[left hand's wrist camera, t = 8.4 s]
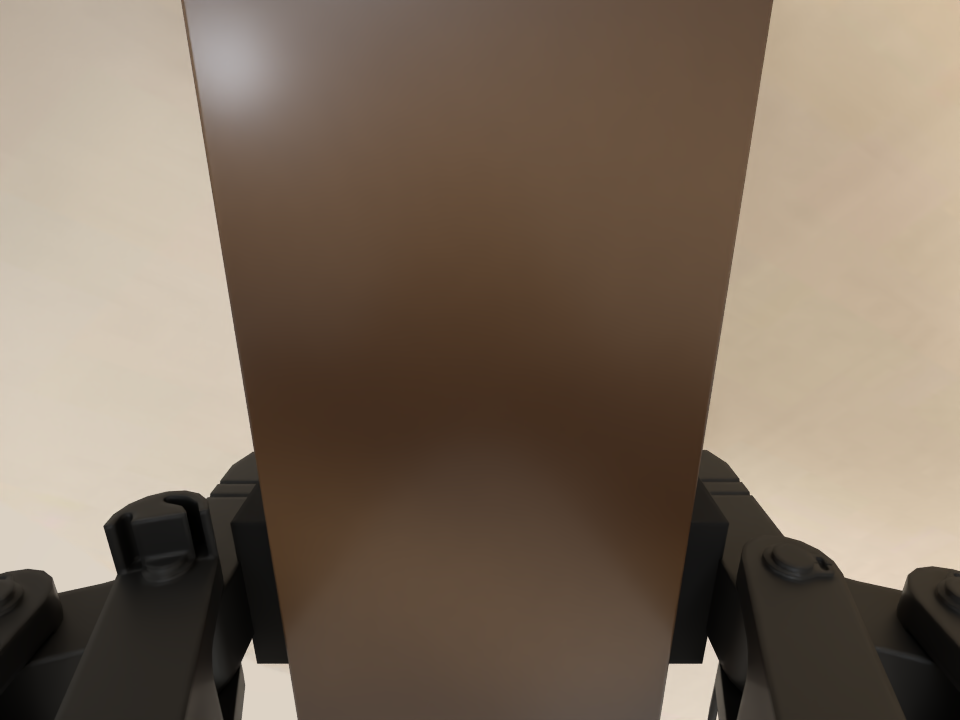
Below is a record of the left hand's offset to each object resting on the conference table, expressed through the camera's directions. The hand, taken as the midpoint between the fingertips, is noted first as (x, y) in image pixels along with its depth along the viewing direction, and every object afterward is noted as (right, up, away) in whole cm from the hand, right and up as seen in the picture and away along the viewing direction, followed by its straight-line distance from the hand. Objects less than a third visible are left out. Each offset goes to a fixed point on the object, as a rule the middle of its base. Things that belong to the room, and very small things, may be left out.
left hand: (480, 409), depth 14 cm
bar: (0, +31, -11) cm, 33 cm away
